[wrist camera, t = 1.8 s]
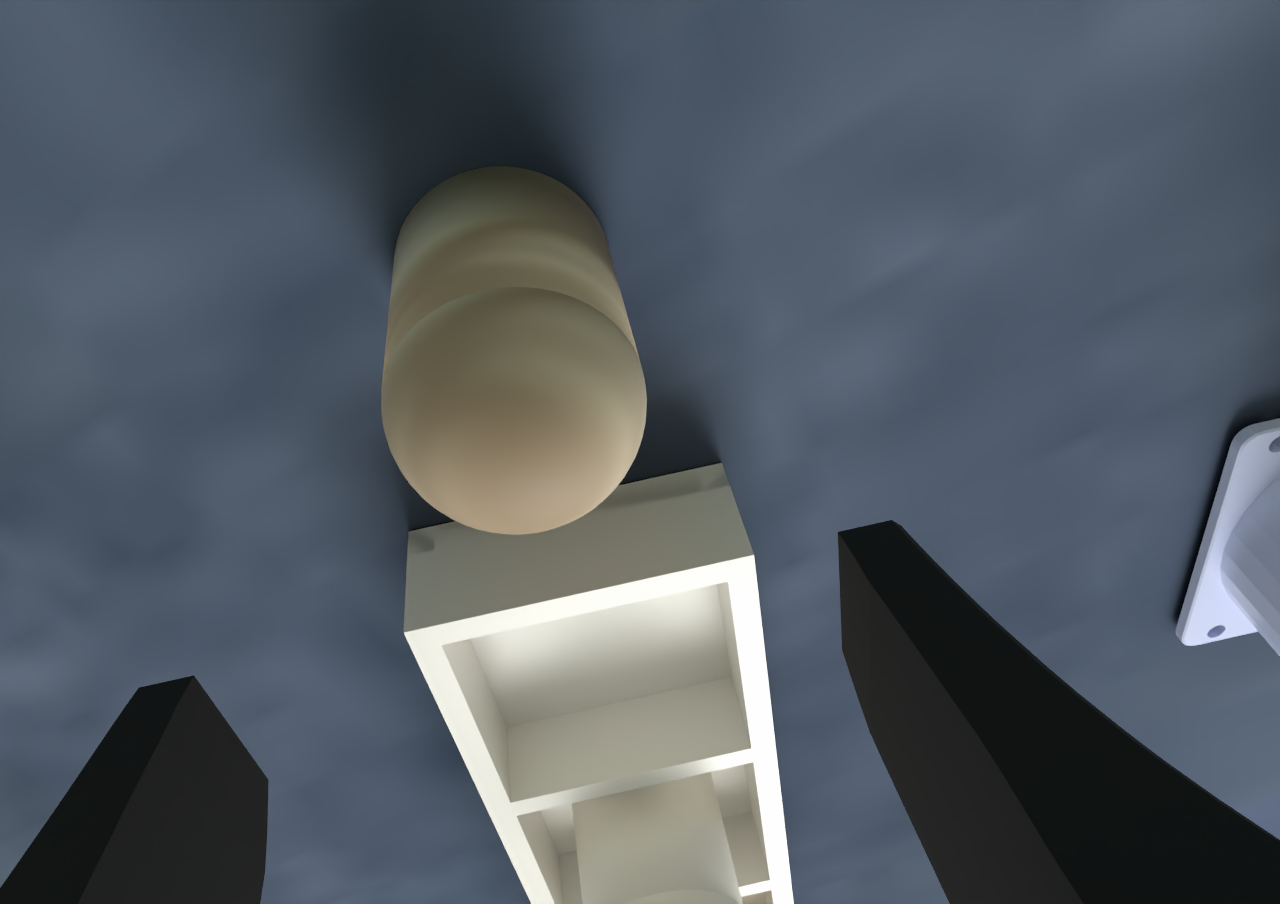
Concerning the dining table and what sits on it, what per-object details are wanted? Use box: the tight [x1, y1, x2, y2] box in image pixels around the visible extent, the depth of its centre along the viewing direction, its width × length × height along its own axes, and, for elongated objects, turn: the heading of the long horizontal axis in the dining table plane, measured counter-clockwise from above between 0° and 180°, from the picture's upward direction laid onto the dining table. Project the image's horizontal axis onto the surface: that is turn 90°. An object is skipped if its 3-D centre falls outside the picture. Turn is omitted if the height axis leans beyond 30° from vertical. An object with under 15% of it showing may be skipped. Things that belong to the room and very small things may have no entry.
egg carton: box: [404, 463, 794, 904], centre depth 26 cm, size 7×20×7 cm, turn 9°
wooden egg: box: [381, 166, 647, 535], centre depth 16 cm, size 4×4×6 cm
